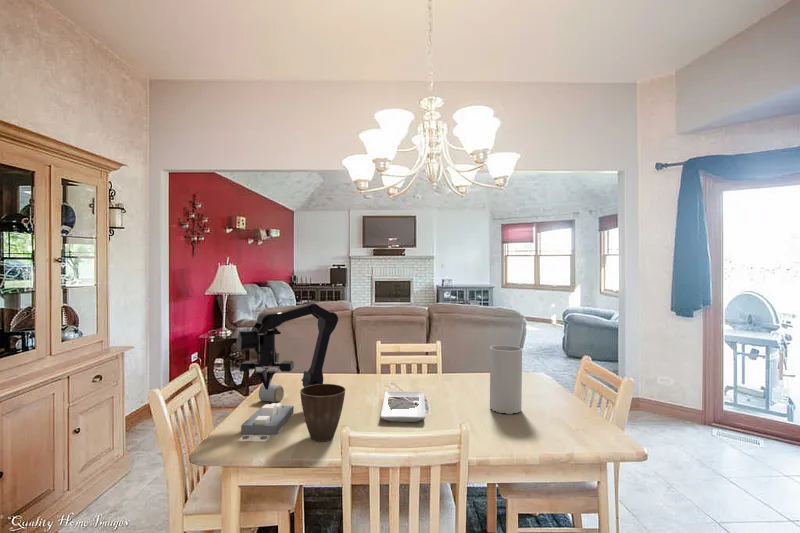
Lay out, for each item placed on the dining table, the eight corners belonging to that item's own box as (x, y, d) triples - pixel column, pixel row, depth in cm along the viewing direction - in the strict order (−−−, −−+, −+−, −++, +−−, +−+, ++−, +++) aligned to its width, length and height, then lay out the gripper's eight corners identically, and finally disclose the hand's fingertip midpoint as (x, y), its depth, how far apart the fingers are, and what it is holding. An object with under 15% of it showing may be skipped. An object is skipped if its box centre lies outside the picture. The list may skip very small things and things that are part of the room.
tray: (379, 425, 153) (379, 415, 153) (385, 398, 185) (385, 390, 185) (425, 426, 153) (426, 416, 153) (423, 399, 184) (423, 391, 184)
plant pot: (307, 427, 149) (308, 382, 149) (349, 430, 147) (349, 384, 147) (292, 445, 134) (293, 395, 134) (338, 448, 132) (339, 397, 133)
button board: (293, 413, 163) (293, 405, 163) (276, 435, 142) (276, 426, 142) (262, 412, 163) (263, 405, 163) (241, 434, 142) (241, 425, 142)
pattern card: (270, 436, 141) (270, 434, 141) (265, 441, 136) (265, 440, 136) (244, 435, 141) (244, 434, 141) (238, 441, 137) (238, 439, 137)
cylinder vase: (526, 409, 171) (527, 348, 171) (511, 417, 162) (512, 352, 162) (499, 402, 180) (500, 344, 180) (483, 409, 170) (484, 348, 171)
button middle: (276, 415, 155) (276, 404, 155) (272, 419, 151) (272, 408, 151) (265, 415, 155) (265, 404, 155) (261, 418, 151) (261, 407, 151)
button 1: (269, 427, 148) (270, 416, 148) (265, 431, 144) (266, 420, 144) (258, 427, 148) (258, 415, 148) (254, 431, 144) (254, 419, 144)
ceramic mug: (275, 404, 173) (275, 386, 173) (257, 402, 176) (258, 384, 176) (288, 397, 183) (289, 380, 184) (272, 396, 186) (272, 378, 186)
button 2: (282, 413, 162) (282, 403, 162) (278, 417, 158) (279, 406, 158) (271, 413, 162) (272, 403, 162) (268, 417, 158) (268, 406, 158)
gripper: (297, 343, 164) (297, 383, 164) (249, 343, 164) (249, 383, 164) (290, 348, 153) (290, 391, 153) (238, 348, 152) (238, 391, 152)
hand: (267, 389), depth 156 cm, fingers closed
